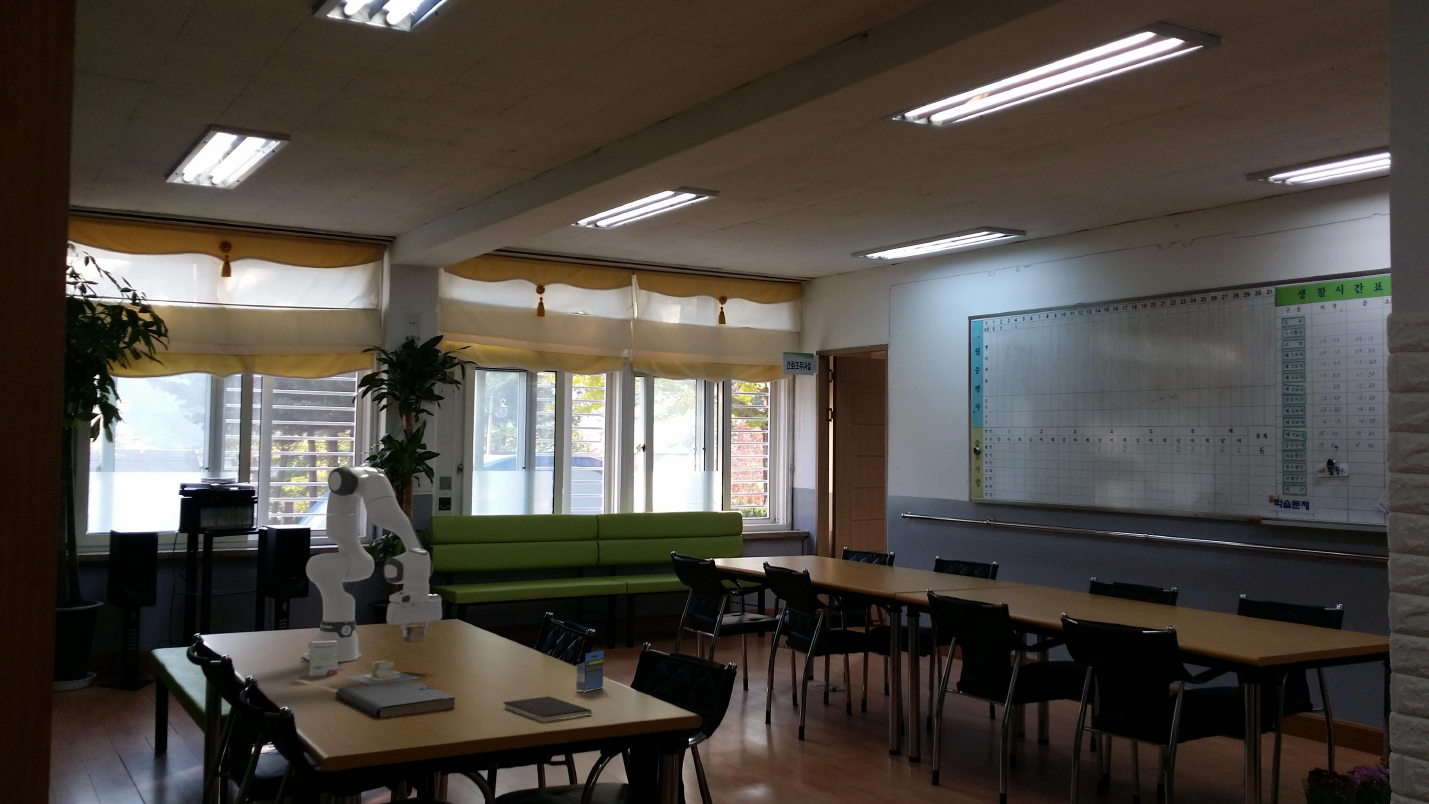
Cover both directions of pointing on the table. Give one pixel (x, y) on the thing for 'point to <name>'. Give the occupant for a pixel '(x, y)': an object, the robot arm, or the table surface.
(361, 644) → the table surface
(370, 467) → the robot arm
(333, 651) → the ink box
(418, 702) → the large dark grey book
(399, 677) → the board
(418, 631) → the walnut block
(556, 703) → the hardcover book
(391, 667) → the birch block
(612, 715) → the table surface
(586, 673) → the blue grey product box
